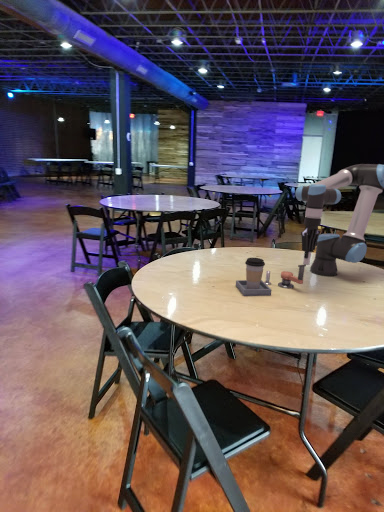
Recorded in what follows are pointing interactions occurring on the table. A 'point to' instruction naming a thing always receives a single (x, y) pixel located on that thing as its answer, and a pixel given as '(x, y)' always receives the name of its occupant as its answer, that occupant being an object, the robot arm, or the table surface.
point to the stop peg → (267, 278)
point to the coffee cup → (254, 272)
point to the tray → (262, 290)
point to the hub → (285, 284)
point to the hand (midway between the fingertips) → (306, 264)
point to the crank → (290, 276)
